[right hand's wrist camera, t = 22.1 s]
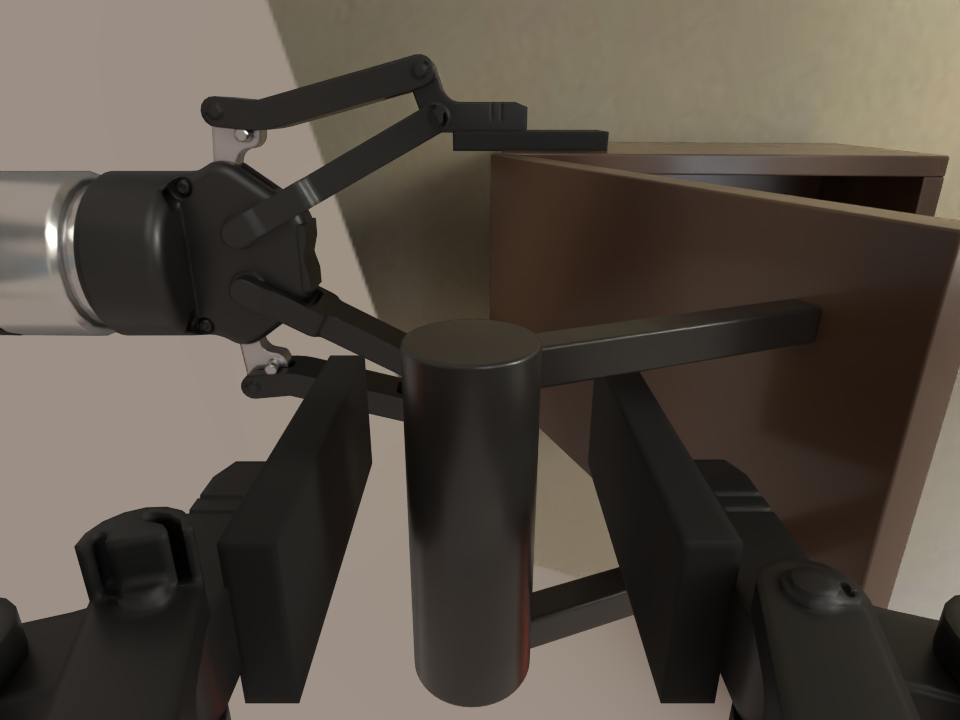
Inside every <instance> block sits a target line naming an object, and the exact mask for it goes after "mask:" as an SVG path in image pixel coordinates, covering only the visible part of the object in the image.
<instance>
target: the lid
mask: <svg viewBox="0 0 960 720" xmlns="http://www.w3.org/2000/svg"><path fill="white" fill-rule="evenodd" d="M400 350H401V371H402V393H403V415H404V437H405V459H406V480H407V502H408V524H409V546H410V568H411V590H412V611H413V633H414V655H415V668H416V671H417V675H418V677H419V679H420V681H421V682H422V683H423V685H424V686H425V688H426V689H427V690H428V691H429V692H430V693H432V694H433V695H434V696H435V697H437V698H439V699H440V700H442V701H445V702H447V703H450V704H453V705H457V706H462V707H481V706H487V705H490V704H494V703H496V702H499V701H501V700H503V699H505V698H506V697H508V696H509V695H511V694H512V693H513V692H514V691H515V690H516V689H517V688H518V687H519V686H520V685H521V683H522V682H523V680H524V678H525V677H526V674H527V672H528V668H529V660H530V648H533V647H536V646H539V645H543V644H546V643H549V642H552V641H555V640H558V639H561V638H564V637H567V636H570V635H573V634H576V633H579V632H582V631H585V630H588V629H592V628H595V627H598V626H601V625H604V624H607V623H610V622H613V621H616V620H619V619H622V618H625V617H628V616H631V615H634V613H633V610H632V607H631V604H630V600H629V597H628V594H627V590H626V587H625V584H624V580H623V577H622V574H621V571H620V567H618V568H615V569H611V570H608V571H604V572H601V573H597V574H594V575H591V576H587V577H584V578H580V579H577V580H574V581H570V582H567V583H564V584H560V585H556V586H553V587H550V588H546V589H543V590H539V591H536V592H533V593H532V587H533V562H534V538H535V513H536V489H537V464H538V440H539V428H540V429H541V430H542V431H543V432H544V433H545V434H546V435H547V436H549V437H550V438H551V439H552V440H553V441H554V442H555V443H556V444H557V445H558V446H559V447H560V448H561V449H562V450H563V451H564V452H565V453H566V454H568V455H569V456H570V457H571V458H572V459H573V460H574V461H575V462H576V463H577V464H578V465H579V466H580V467H581V468H582V469H583V470H584V471H586V472H587V473H588V474H589V475H590V476H591V477H592V475H591V472H590V469H589V465H588V454H589V439H590V425H591V411H592V397H593V383H594V379H600V378H606V377H612V376H618V375H623V374H629V373H635V372H640V373H641V375H642V377H643V378H644V380H645V382H646V383H647V385H648V387H649V388H650V390H651V391H652V393H653V395H654V396H655V398H656V400H657V401H658V403H659V405H660V406H661V408H662V410H663V411H664V413H665V415H666V416H667V418H668V420H669V421H670V423H671V424H672V426H673V428H674V429H675V431H676V433H677V434H678V436H679V438H680V439H681V441H682V443H683V444H684V446H685V448H686V449H687V451H688V453H689V454H690V456H691V457H692V459H724V460H726V461H727V462H729V463H730V464H732V465H733V466H735V467H736V468H738V469H739V470H741V471H742V472H744V473H745V474H747V476H748V477H749V478H750V480H751V481H752V482H753V484H754V485H755V487H756V488H757V489H758V491H759V492H760V496H763V497H764V499H765V500H766V502H767V503H768V504H769V506H770V507H771V512H774V513H775V514H776V515H777V517H778V518H779V519H780V521H781V522H782V524H783V525H784V526H785V528H786V529H787V530H788V532H789V533H790V535H791V536H792V537H793V539H794V540H795V541H796V543H797V544H798V546H799V547H800V548H801V550H802V551H803V552H804V554H805V555H806V556H807V558H808V559H809V560H811V561H815V562H819V563H823V564H825V565H827V566H829V567H832V568H834V569H836V570H838V571H840V572H842V573H844V574H845V575H847V576H848V577H849V578H850V579H852V580H853V581H854V582H856V583H857V584H858V585H859V586H861V588H862V589H863V591H864V592H865V594H866V595H867V596H868V598H869V599H870V601H871V603H872V605H874V606H877V607H881V608H884V609H887V607H888V604H889V601H890V597H891V594H892V591H893V587H894V584H895V581H896V577H897V574H898V571H899V567H900V564H901V561H902V557H903V554H904V551H905V547H906V544H907V541H908V537H909V534H910V530H911V527H912V524H913V520H914V517H915V514H916V510H917V507H918V504H919V500H920V497H921V494H922V490H923V487H924V484H925V480H926V477H927V474H928V470H929V467H930V464H931V460H932V457H933V454H934V450H935V447H936V444H937V440H938V437H939V433H940V430H941V427H942V423H943V420H944V417H945V413H946V410H947V407H948V403H949V400H950V397H951V393H952V390H953V387H954V383H955V380H956V377H957V373H958V370H959V367H960V221H959V220H952V219H945V218H938V217H932V216H925V215H918V214H912V213H905V212H898V211H892V210H885V209H878V208H871V207H865V206H858V205H851V204H845V203H838V202H831V201H825V200H818V199H811V198H804V197H798V196H791V195H784V194H778V193H771V192H764V191H758V190H751V189H744V188H737V187H731V186H724V185H717V184H711V183H704V182H697V181H691V180H684V179H677V178H670V177H664V176H657V175H650V174H644V173H637V172H630V171H624V170H617V169H610V168H603V167H597V166H590V165H583V164H577V163H570V162H563V161H557V160H550V159H543V158H536V157H530V156H523V155H516V154H492V155H491V236H490V320H482V319H462V320H449V321H442V322H437V323H433V324H429V325H425V326H422V327H419V328H417V329H415V330H413V331H411V332H409V333H408V334H406V335H405V337H404V338H403V340H402V342H401V346H400Z"/></svg>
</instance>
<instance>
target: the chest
mask: <svg viewBox="0 0 960 720" xmlns="http://www.w3.org/2000/svg"><path fill="white" fill-rule="evenodd" d="M503 154H516V155H523V156H530V157H536V158H543V159H550V160H557V161H563V162H570V163H577V164H583V165H590V166H597V167H603V168H610V169H617V170H624V171H630V172H637V173H644V174H650V175H657V176H664V177H670V178H677V179H684V180H691V181H697V182H704V183H711V184H717V185H724V186H731V187H737V188H744V189H751V190H758V191H764V192H771V193H778V194H784V195H791V196H798V197H804V198H811V199H818V200H825V201H831V202H838V203H845V204H851V205H858V206H865V207H871V208H878V209H885V210H892V211H898V212H905V213H912V214H918V215H925V216H932V217H934V215H935V211H936V207H937V203H938V199H939V195H940V191H941V188H942V184H943V180H944V178H943V176H944V175H945V172H946V168H947V164H948V160H949V156H944V155H935V154H926V153H917V152H908V151H899V150H890V149H881V148H872V147H863V146H854V145H845V144H836V143H657V142H608V148H607V150H504V151H503Z"/></svg>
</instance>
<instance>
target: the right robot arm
mask: <svg viewBox="0 0 960 720" xmlns="http://www.w3.org/2000/svg"><path fill="white" fill-rule="evenodd" d="M371 465H372V454H371V439H370V425H369V411H368V397H367V383H366V369H365V356H330V357H329V358H328V360H327V362H326V363H325V365H324V367H323V368H322V370H321V372H320V373H319V375H318V377H317V378H316V380H315V382H314V383H313V385H312V387H311V388H310V390H309V391H308V393H307V395H306V396H305V398H304V400H303V401H302V403H301V405H300V406H299V408H298V410H297V411H296V413H295V415H294V416H293V418H292V420H291V421H290V423H289V425H288V426H287V428H286V430H285V431H284V433H283V434H282V436H281V438H280V439H279V441H278V443H277V444H276V446H275V448H274V449H273V451H272V453H271V454H270V456H269V457H268V459H267V461H237V462H235V463H233V464H232V465H230V466H229V467H227V468H226V469H224V470H223V471H221V472H220V473H218V474H217V475H215V476H214V477H213V478H212V480H211V481H210V482H209V484H208V485H207V486H206V488H205V489H204V491H203V492H202V493H201V495H200V498H198V499H197V500H196V502H195V503H194V504H193V506H192V507H191V509H190V512H189V514H186V513H185V512H183V511H182V510H178V509H174V508H169V507H146V508H142V509H138V510H133V511H129V512H124V513H122V514H120V515H117V516H115V517H112V518H110V519H108V520H105V521H103V522H101V523H100V524H98V525H97V526H95V527H94V528H92V529H91V530H90V531H88V532H87V533H85V534H84V536H83V537H82V538H81V539H80V540H79V542H78V543H77V544H76V545H75V551H76V554H77V558H78V561H79V565H80V568H81V572H82V576H83V579H84V583H85V586H86V590H87V593H88V597H89V600H90V602H89V604H88V607H87V608H85V609H82V610H78V611H75V612H71V613H67V614H62V615H58V616H53V617H48V618H44V619H39V620H35V621H30V622H26V623H21V620H20V617H19V614H18V611H17V608H16V606H15V605H13V604H12V603H11V602H10V601H9V600H7V599H6V598H0V720H231V717H230V712H229V707H228V702H229V700H230V697H231V695H232V693H233V690H234V688H235V686H236V683H237V681H238V679H239V676H241V681H242V687H243V692H244V698H245V703H299V702H300V699H301V696H302V692H303V689H304V686H305V682H306V679H307V676H308V673H309V669H310V666H311V663H312V659H313V656H314V653H315V650H316V646H317V643H318V640H319V636H320V633H321V630H322V626H323V623H324V620H325V617H326V613H327V610H328V607H329V603H330V600H331V597H332V594H333V590H334V587H335V584H336V580H337V577H338V574H339V571H340V567H341V564H342V561H343V557H344V554H345V551H346V548H347V544H348V541H349V538H350V534H351V531H352V528H353V524H354V521H355V518H356V515H357V511H358V508H359V505H360V502H361V498H362V495H363V492H364V488H365V485H366V482H367V478H368V475H369V472H370V469H371ZM588 465H589V469H590V472H591V475H592V479H593V482H594V485H595V488H596V492H597V495H598V498H599V502H600V505H601V508H602V511H603V515H604V518H605V521H606V525H607V528H608V531H609V534H610V538H611V541H612V544H613V548H614V551H615V554H616V557H617V561H618V564H619V567H620V571H621V574H622V577H623V580H624V584H625V587H626V590H627V594H628V597H629V600H630V604H631V607H632V610H633V613H634V617H635V620H636V623H637V627H638V630H639V633H640V636H641V640H642V643H643V646H644V649H645V653H646V656H647V659H648V663H649V666H650V669H651V673H652V676H653V679H654V682H655V686H656V689H657V692H658V695H659V699H660V702H661V703H715V698H716V692H717V687H718V682H719V676H720V673H721V675H722V678H723V680H724V682H725V685H726V687H727V689H728V692H729V694H730V696H731V699H732V701H733V702H732V707H731V712H730V717H729V720H960V595H956V596H954V597H953V598H951V599H950V600H949V601H948V602H946V603H945V605H944V608H943V611H942V614H941V617H940V620H939V621H938V620H933V619H929V618H924V617H920V616H915V615H911V614H906V613H901V612H897V611H892V610H888V609H884V608H881V607H877V606H874V605H872V603H871V601H870V599H869V598H868V596H867V595H866V594H865V592H864V591H863V589H862V588H861V586H859V585H858V584H857V583H856V582H854V581H853V580H852V579H850V578H849V577H848V576H847V575H845V574H844V573H842V572H840V571H838V570H836V569H834V568H832V567H829V566H827V565H825V564H823V563H819V562H815V561H811V560H809V559H808V558H807V556H806V555H805V554H804V552H803V551H802V550H801V548H800V547H799V546H798V544H797V543H796V541H795V540H794V539H793V537H792V536H791V535H790V533H789V532H788V530H787V529H786V528H785V526H784V525H783V524H782V522H781V521H780V519H779V518H778V517H777V515H776V514H775V513H774V512H771V507H770V506H769V504H768V503H767V502H766V500H765V499H764V497H763V496H760V492H759V491H758V489H757V488H756V487H755V485H754V484H753V482H752V481H751V480H750V478H749V477H748V476H747V474H745V473H744V472H742V471H741V470H739V469H738V468H736V467H735V466H733V465H732V464H730V463H729V462H727V461H726V460H724V459H692V457H691V456H690V454H689V453H688V451H687V449H686V448H685V446H684V444H683V443H682V441H681V439H680V438H679V436H678V434H677V433H676V431H675V429H674V428H673V426H672V424H671V423H670V421H669V420H668V418H667V416H666V415H665V413H664V411H663V410H662V408H661V406H660V405H659V403H658V401H657V400H656V398H655V396H654V395H653V393H652V391H651V390H650V388H649V387H648V385H647V383H646V382H645V380H644V378H643V377H642V375H641V373H640V372H635V373H629V374H623V375H618V376H612V377H606V378H600V379H594V383H593V397H592V411H591V425H590V439H589V454H588Z"/></svg>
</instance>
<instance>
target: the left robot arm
mask: <svg viewBox="0 0 960 720" xmlns="http://www.w3.org/2000/svg"><path fill="white" fill-rule="evenodd" d="M411 92H413V94H414V96H415V99H416V102H417V105H418V107H419V110H418V111H417V112H415V113H413V114H411V115H410V116H408V117H406V118H405V119H403V120H401V121H400V122H398V123H396V124H394V125H393V126H391V127H389V128H388V129H386V130H384V131H383V132H381V133H379V134H377V135H376V136H374V137H372V138H371V139H369V140H367V141H365V142H364V143H362V144H360V145H359V146H357V147H355V148H354V149H352V150H350V151H348V152H347V153H345V154H343V155H342V156H340V157H338V158H337V159H335V160H333V161H331V162H330V163H328V164H326V165H325V166H323V167H321V168H320V169H318V170H316V171H315V172H313V173H311V174H309V175H308V176H306V177H304V178H302V179H300V180H298V181H297V182H295V183H293V184H291V185H290V186H288V187H286V188H285V189H282V188H280V187H279V186H278V185H276V184H275V183H273V182H272V181H270V180H269V179H267V178H266V177H264V176H263V175H262V174H260V173H259V172H257V171H256V170H254V169H253V168H251V167H250V166H248V165H247V164H245V163H244V162H243V161H244V156H245V153H246V152H247V151H248V150H250V149H251V148H256V147H260V146H262V145H263V144H264V143H265V141H266V138H267V130H269V129H279V128H286V127H290V126H294V125H298V124H301V123H305V122H309V121H312V120H316V119H319V118H323V117H326V116H330V115H333V114H337V113H340V112H344V111H347V110H351V109H355V108H358V107H362V106H365V105H369V104H372V103H376V102H379V101H383V100H386V99H390V98H393V97H397V96H401V95H404V94H408V93H411ZM201 114H202V117H203V119H204V120H205V122H207V123H208V124H209V125H210V126H212V133H213V152H214V162H212V163H210V164H208V165H207V166H205V167H204V168H202V169H200V170H198V171H110V172H106V173H104V174H102V175H99V174H96V173H94V172H91V171H0V335H87V336H89V335H90V336H101V335H110V334H112V333H115V332H117V333H120V334H122V335H208V334H213V335H219V336H222V337H225V338H227V339H229V340H231V341H233V342H236V343H239V344H240V345H241V350H242V354H243V358H244V362H245V366H246V370H247V376H246V377H245V378H244V380H243V381H242V383H241V389H242V391H243V393H244V394H245V395H246V396H248V397H250V398H255V399H257V398H268V397H279V396H294V397H299V398H303V399H304V398H305V396H306V395H307V393H308V391H309V390H310V388H311V387H312V385H313V383H314V382H315V380H316V378H317V377H318V375H319V373H320V372H321V370H322V368H323V367H324V365H325V363H326V362H327V360H322V359H318V358H314V357H308V356H291V353H290V352H289V350H288V349H287V348H283V347H278V346H274V345H272V344H271V343H270V342H269V341H268V340H267V338H266V336H267V335H268V334H269V333H271V332H272V331H273V330H275V329H276V328H277V327H279V326H280V325H281V324H285V325H288V326H290V327H292V328H294V329H296V330H298V331H300V332H302V333H304V334H306V335H309V336H312V337H322V338H324V339H326V340H329V341H331V342H333V343H335V344H337V345H339V346H341V347H343V348H345V349H347V350H349V351H351V352H353V353H356V354H358V355H360V356H365V358H366V359H368V360H370V361H372V362H374V363H376V364H378V365H380V366H382V367H385V368H387V369H389V370H391V371H393V372H395V373H397V374H399V375H401V376H402V371H401V350H400V346H401V342H402V340H403V338H404V337H405V335H406V334H407V333H405V332H403V331H401V330H399V329H397V328H395V327H393V326H391V325H389V324H387V323H385V322H383V321H381V320H379V319H377V318H375V317H373V316H371V315H369V314H367V313H365V312H363V311H361V310H359V309H356V308H355V307H352V306H350V305H348V304H346V303H344V302H343V301H341V300H340V299H339V298H338V296H336V295H335V294H333V293H332V292H330V291H328V290H326V289H324V288H322V287H320V286H318V285H319V284H320V283H321V270H320V265H319V262H318V259H317V257H316V254H315V250H314V249H315V243H316V238H317V227H316V218H312V216H311V214H310V212H309V210H308V209H310V208H311V207H313V206H315V205H316V204H318V203H320V202H322V201H323V200H325V199H327V198H329V197H330V196H332V195H334V194H336V193H337V192H339V191H341V190H342V189H344V188H346V187H348V186H349V185H351V184H353V183H355V182H356V181H358V180H360V179H362V178H363V177H365V176H367V175H368V174H370V173H372V172H374V171H375V170H377V169H379V168H381V167H382V166H384V165H386V164H388V163H389V162H391V161H393V160H395V159H396V158H398V157H400V156H401V155H403V154H405V153H407V152H408V151H410V150H412V149H414V148H415V147H417V146H419V145H421V144H422V143H424V142H426V141H427V140H429V139H431V138H433V137H434V136H436V135H438V134H440V133H441V132H453V151H504V150H607V148H608V134H609V132H606V131H600V130H527V107H525V106H523V105H521V104H518V103H516V102H456V101H453V100H452V99H450V98H449V97H448V96H447V95H446V93H445V91H444V89H443V86H442V83H441V80H440V78H439V75H438V72H437V69H436V66H435V64H434V63H433V62H432V61H431V60H430V59H429V58H428V57H427V56H424V55H422V54H417V55H412V56H409V57H405V58H402V59H398V60H395V61H391V62H388V63H385V64H381V65H378V66H374V67H371V68H367V69H364V70H360V71H357V72H353V73H350V74H346V75H343V76H339V77H336V78H332V79H329V80H325V81H322V82H318V83H315V84H312V85H308V86H305V87H301V88H298V89H294V90H291V91H287V92H284V93H280V94H277V95H273V96H270V97H266V98H263V99H259V100H256V99H246V98H236V97H217V96H213V97H208V98H207V99H205V100H204V101H203V103H202V105H201ZM366 383H367V397H368V411H369V414H374V415H378V416H382V417H386V418H391V419H395V420H400V421H404V415H403V393H402V378H399V377H395V376H391V375H386V374H382V373H378V372H374V371H369V370H366Z"/></svg>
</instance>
